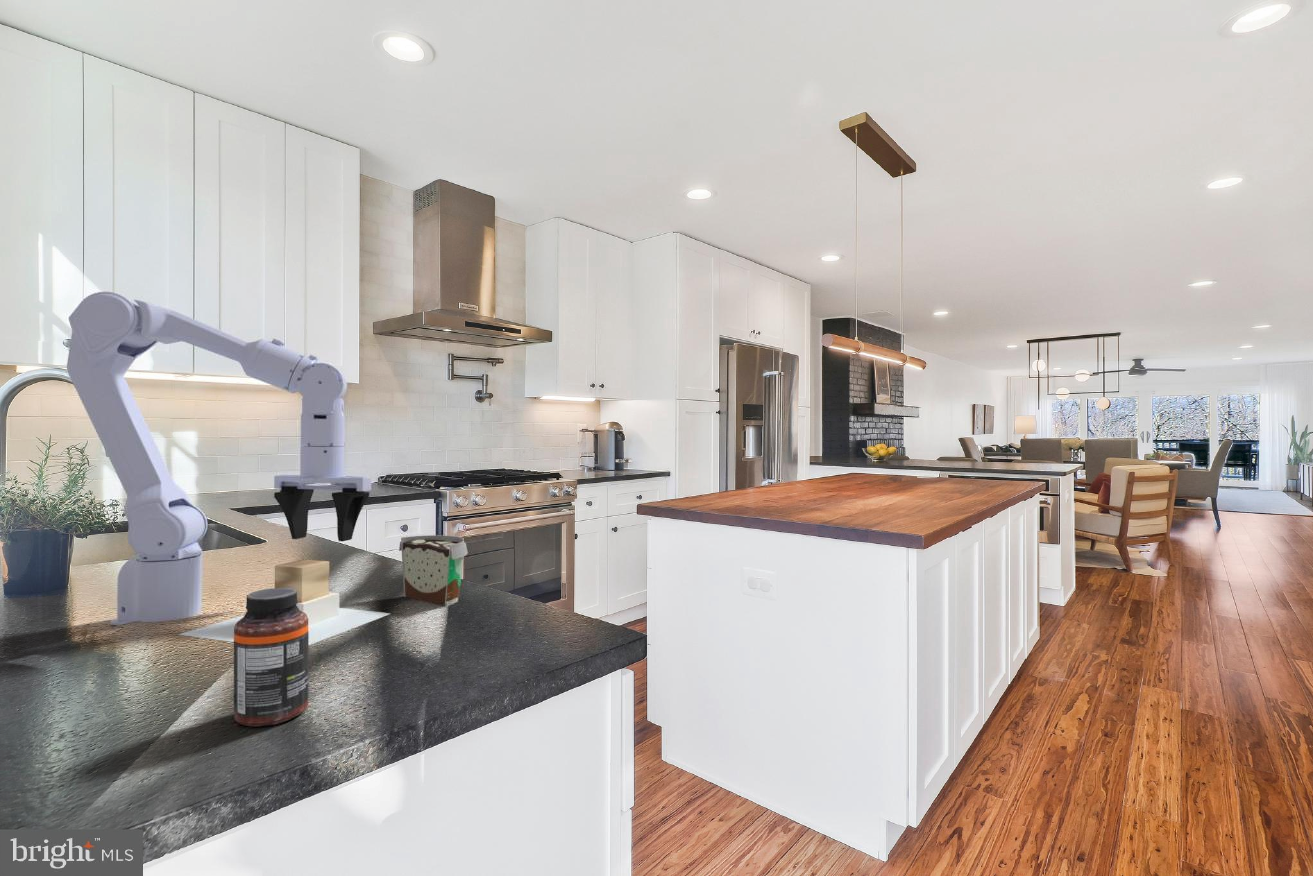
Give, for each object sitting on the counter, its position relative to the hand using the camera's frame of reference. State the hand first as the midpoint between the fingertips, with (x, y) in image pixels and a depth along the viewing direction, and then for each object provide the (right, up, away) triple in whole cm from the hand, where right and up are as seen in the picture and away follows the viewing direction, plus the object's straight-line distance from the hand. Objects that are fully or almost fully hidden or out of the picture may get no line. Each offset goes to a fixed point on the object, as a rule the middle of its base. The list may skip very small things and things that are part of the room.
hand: (321, 539), depth 93 cm
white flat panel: (+1, -10, -10) cm, 14 cm away
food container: (+16, -11, +5) cm, 20 cm away
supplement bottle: (+14, -11, -34) cm, 38 cm away
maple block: (+2, -6, -8) cm, 11 cm away
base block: (+2, -9, -8) cm, 12 cm away
